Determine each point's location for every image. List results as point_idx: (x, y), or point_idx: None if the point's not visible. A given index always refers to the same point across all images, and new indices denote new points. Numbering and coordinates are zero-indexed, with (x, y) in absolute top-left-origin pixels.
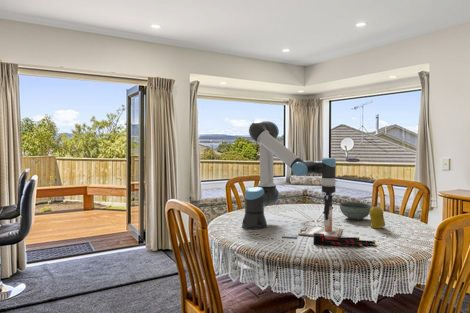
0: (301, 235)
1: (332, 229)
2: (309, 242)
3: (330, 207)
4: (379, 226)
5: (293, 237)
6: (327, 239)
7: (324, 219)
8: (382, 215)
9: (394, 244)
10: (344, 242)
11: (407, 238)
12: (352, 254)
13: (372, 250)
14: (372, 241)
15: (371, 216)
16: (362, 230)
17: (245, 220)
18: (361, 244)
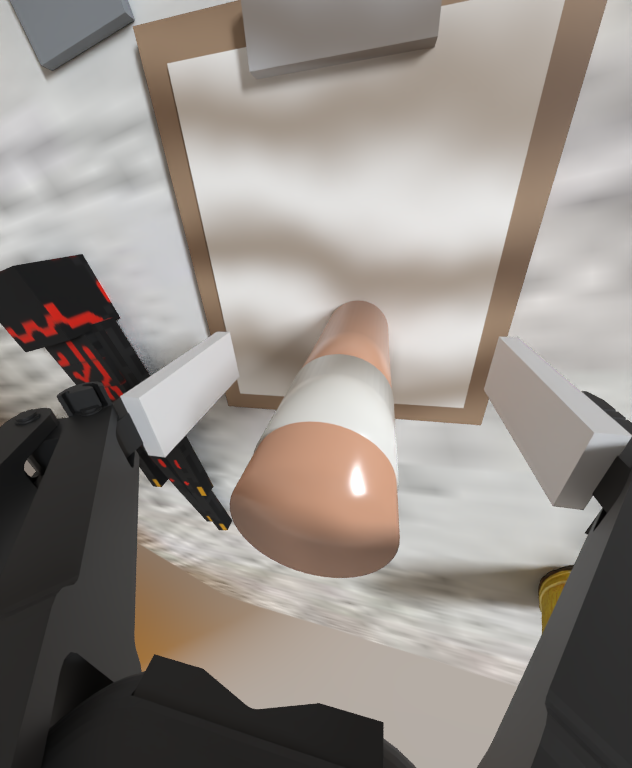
0: (154, 85)
1: (426, 359)
2: (54, 228)
3: (257, 544)
4: (541, 601)
5: (21, 20)
6: (58, 359)
7: (180, 360)
8: None
9: (273, 563)
10: None
11: (375, 610)
12: None
13: (160, 498)
14: (214, 523)
15: None
16: (489, 517)
17: None
18: (154, 484)
